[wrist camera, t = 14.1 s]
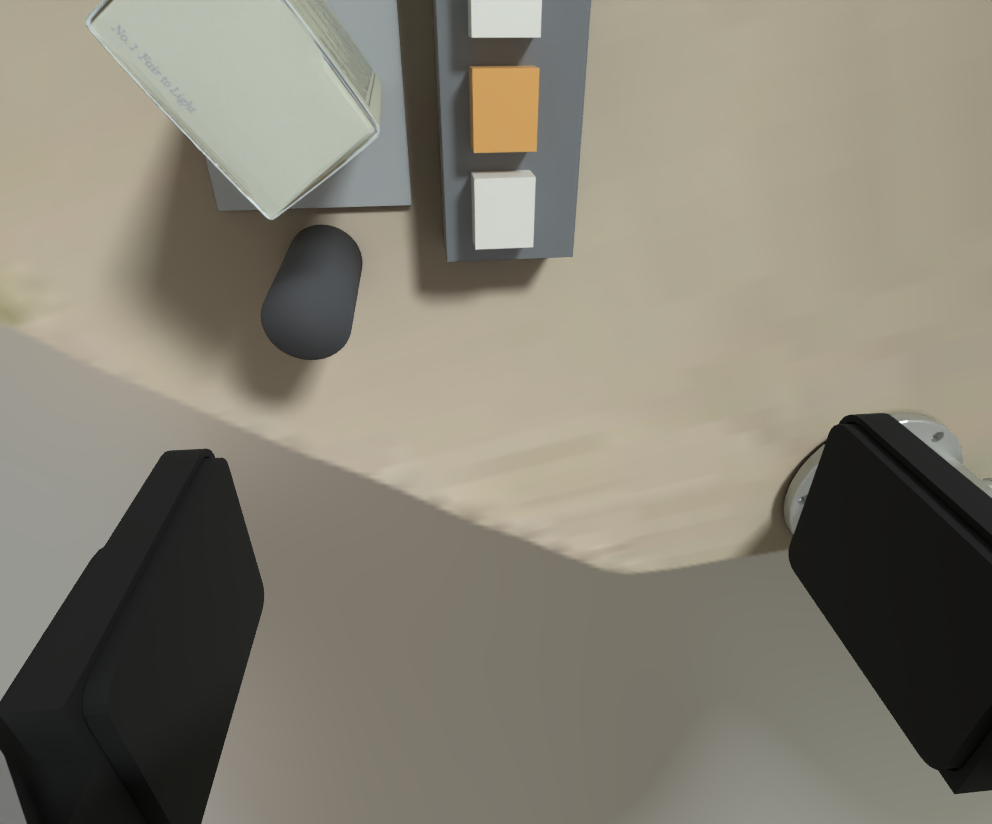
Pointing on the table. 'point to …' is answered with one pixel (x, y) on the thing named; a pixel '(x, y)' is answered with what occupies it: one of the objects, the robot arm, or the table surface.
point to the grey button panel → (474, 124)
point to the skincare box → (251, 86)
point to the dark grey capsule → (314, 294)
